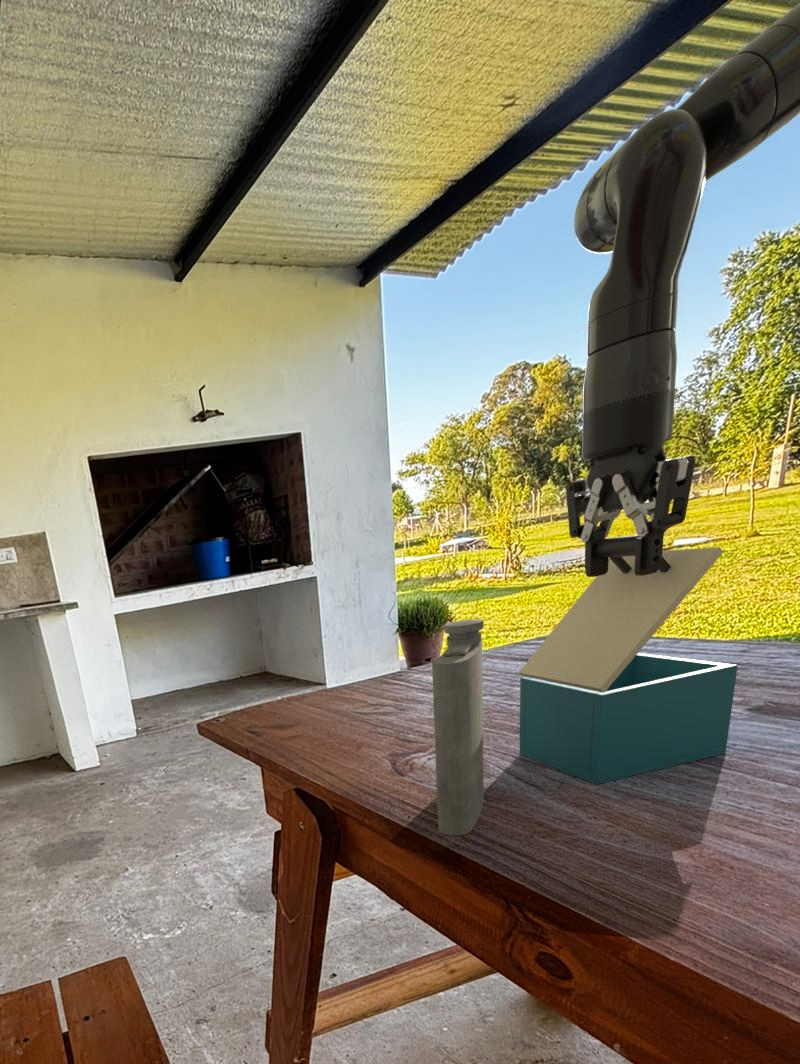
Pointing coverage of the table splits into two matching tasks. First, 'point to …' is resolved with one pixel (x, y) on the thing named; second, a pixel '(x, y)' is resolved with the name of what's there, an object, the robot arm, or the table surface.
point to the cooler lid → (616, 615)
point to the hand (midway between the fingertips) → (620, 574)
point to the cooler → (630, 718)
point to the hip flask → (459, 728)
